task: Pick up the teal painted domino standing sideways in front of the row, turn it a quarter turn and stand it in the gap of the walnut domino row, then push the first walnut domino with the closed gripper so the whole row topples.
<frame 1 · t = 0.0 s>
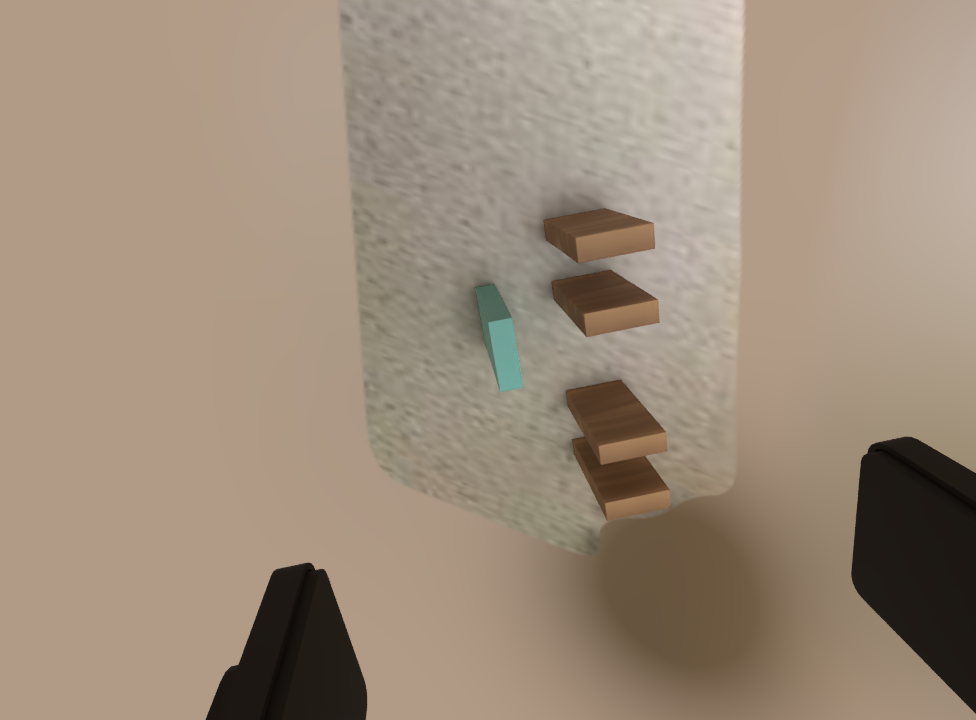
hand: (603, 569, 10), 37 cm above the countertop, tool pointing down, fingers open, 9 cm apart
domino 2: (582, 285, 46), on the countertop
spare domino: (489, 314, 46), on the countertop
domino 5: (599, 441, 51), on the countertop
domino 1: (575, 224, 44), on the countertop
domino 4: (594, 393, 50), on the countertop
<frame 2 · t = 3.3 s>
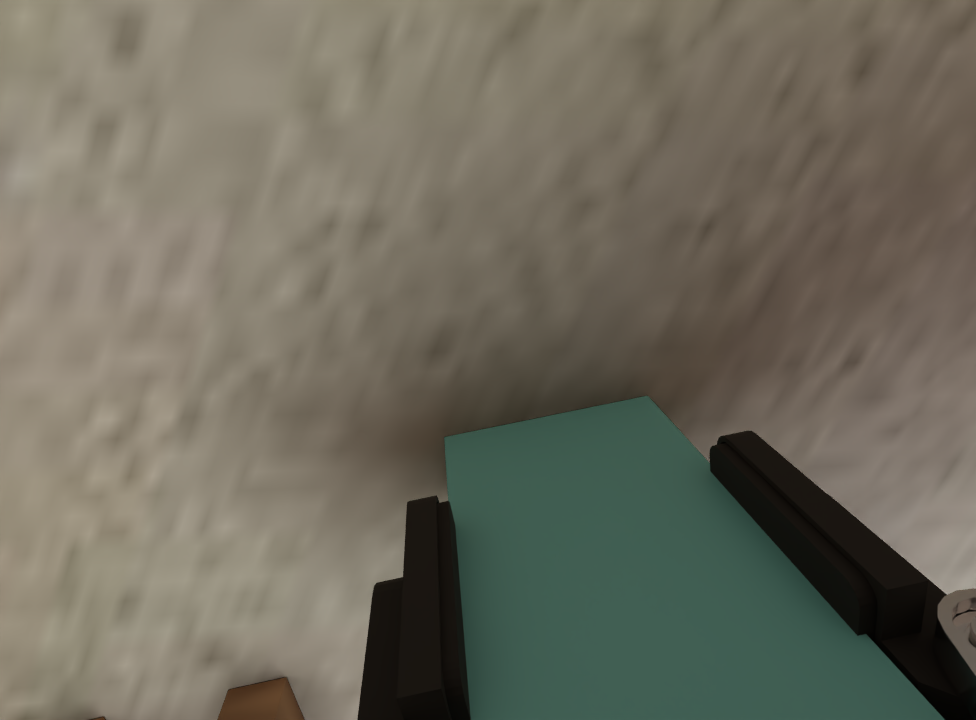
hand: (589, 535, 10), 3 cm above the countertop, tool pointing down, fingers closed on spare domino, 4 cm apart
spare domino: (550, 444, 14), on the countertop, touching gripper
when the fingers open (4 cm above the countertop, at t = 8.8 s): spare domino stays where it is, on the countertop.
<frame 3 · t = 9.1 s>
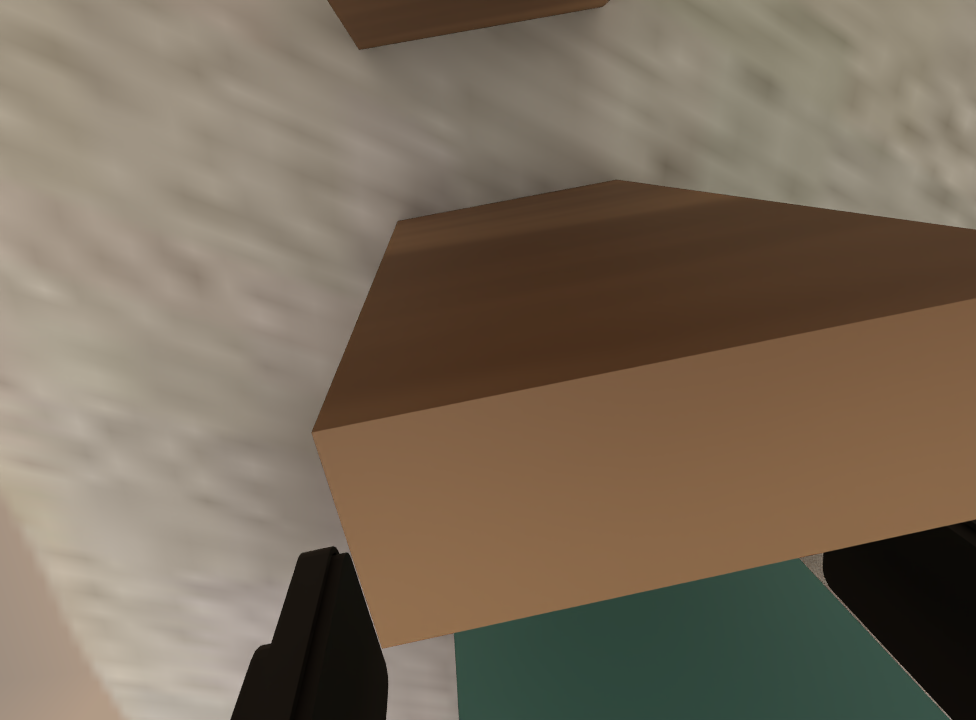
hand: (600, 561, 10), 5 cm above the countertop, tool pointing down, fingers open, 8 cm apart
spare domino: (542, 427, 14), on the countertop
domino 4: (513, 235, 13), on the countertop
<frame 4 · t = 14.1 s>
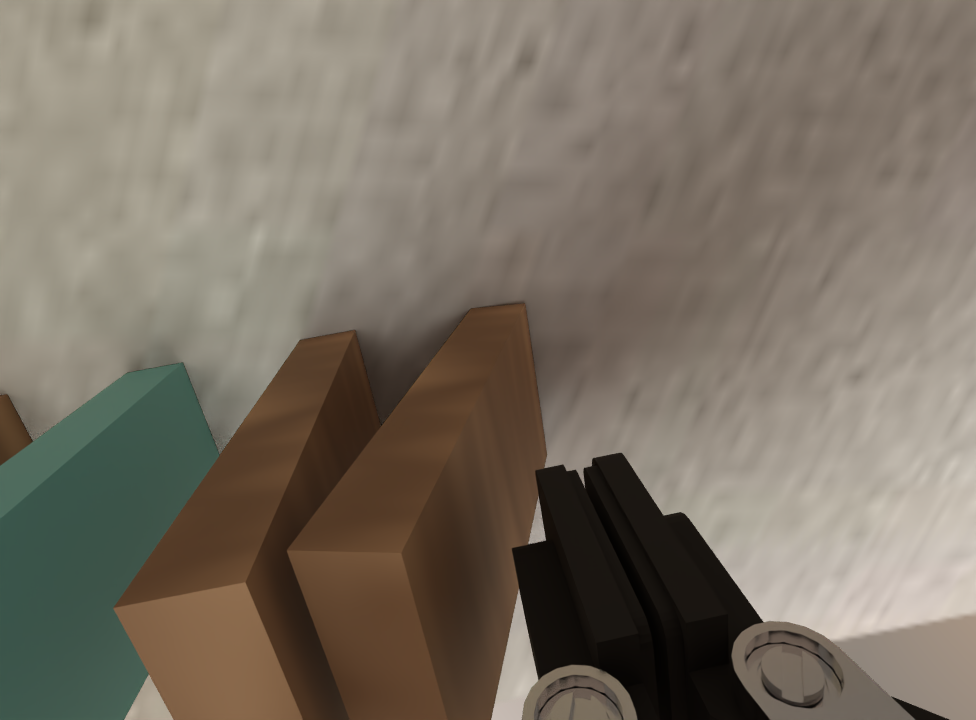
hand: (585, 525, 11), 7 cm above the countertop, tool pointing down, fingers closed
domino 2: (349, 411, 17), on the countertop
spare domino: (186, 442, 17), on the countertop
domino 1: (510, 384, 17), on the countertop, tilted 18°
domino 4: (20, 473, 17), on the countertop
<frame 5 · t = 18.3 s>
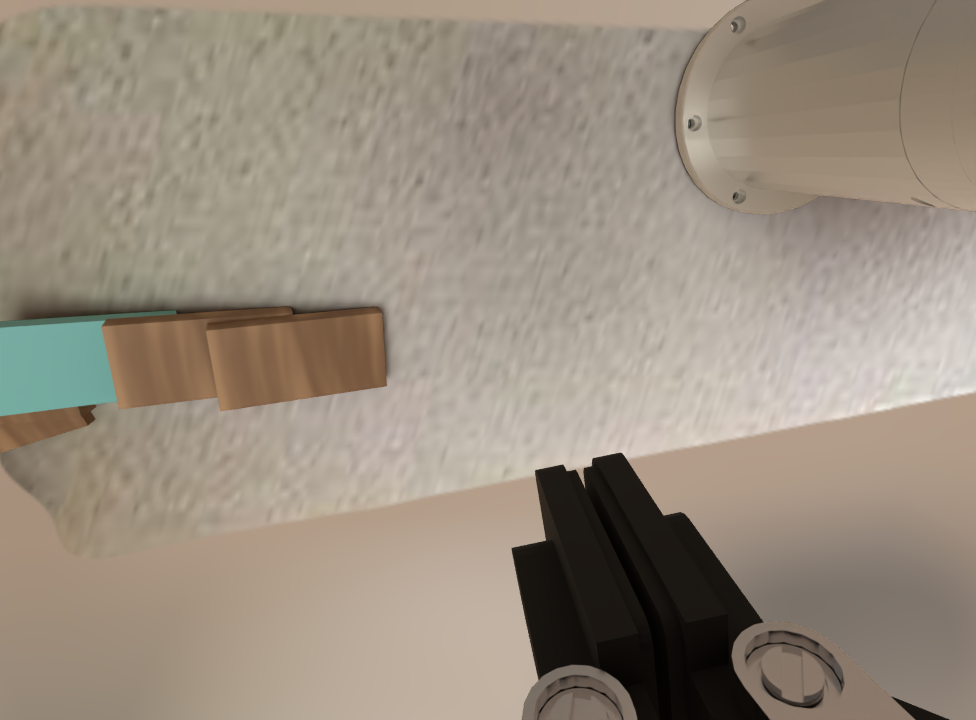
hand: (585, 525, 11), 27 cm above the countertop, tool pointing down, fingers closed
domino 2: (294, 347, 36), point 1 cm above the countertop, tilted 73°, touching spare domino
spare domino: (181, 351, 35), point 1 cm above the countertop, tilted 67°, touching domino 2
domino 5: (74, 387, 36), on the countertop, tilted 90°, touching domino 4
domino 1: (381, 346, 36), point 1 cm above the countertop, tilted 73°
domino 4: (77, 375, 34), point 2 cm above the countertop, tilted 90°, touching domino 5
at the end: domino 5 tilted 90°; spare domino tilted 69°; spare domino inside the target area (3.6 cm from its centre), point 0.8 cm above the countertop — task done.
